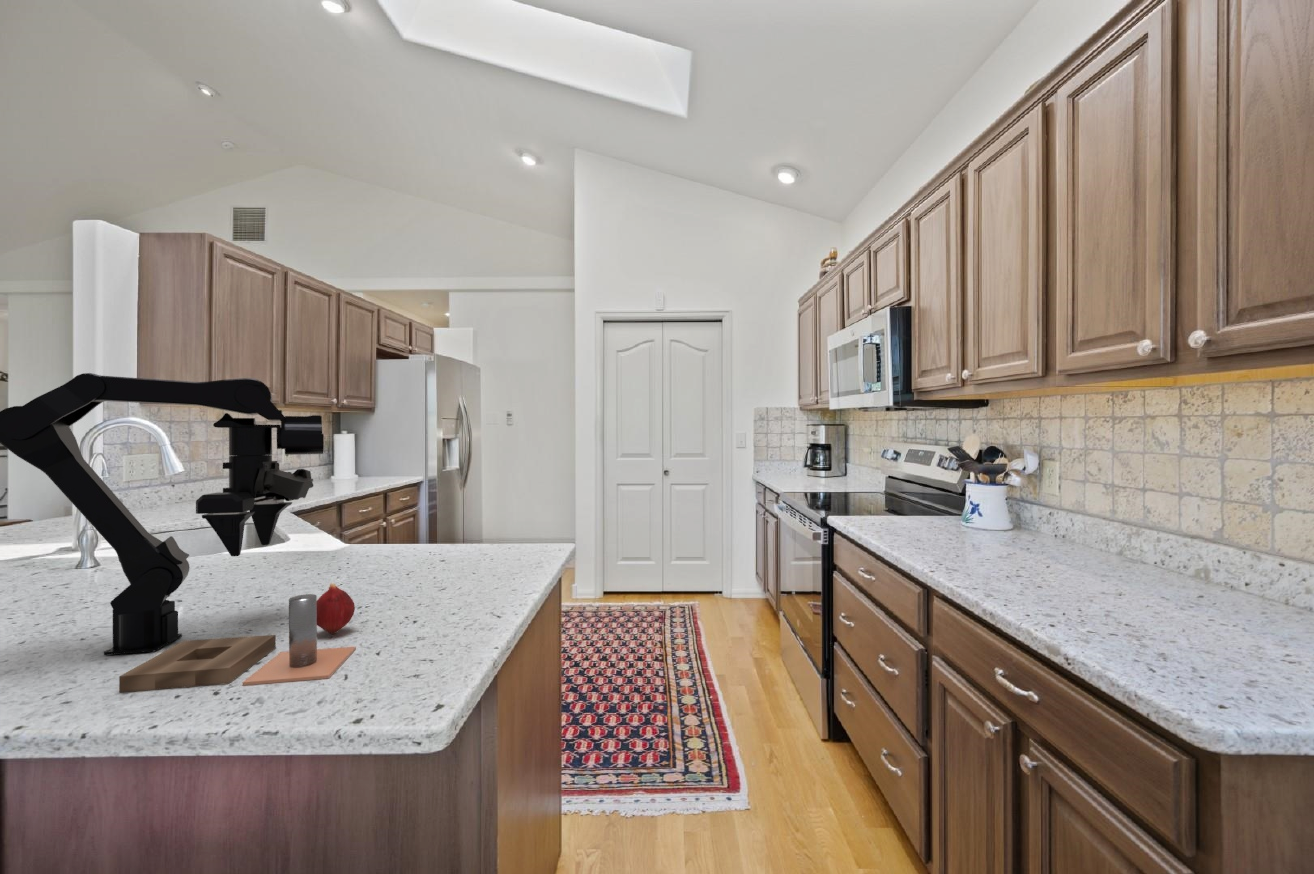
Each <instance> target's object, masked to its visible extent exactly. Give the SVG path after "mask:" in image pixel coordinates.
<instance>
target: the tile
mask: <svg viewBox="0 0 1314 874" xmlns="http://www.w3.org/2000/svg"><path fill="white" fill-rule="evenodd" d="M356 650H357V646H344V647H332V648H321V649H320V648H317V661H316V662H315V663H314V664H312V665H309V666H306V667H301V668H292V667H290V666H289V651H280V652H279V653H277V655H275V656H273V658H271V659H270V660H269V661H267V663H264V665H262V666H261V667H260V668H259V669H257V671H255V672H253V673H252V674H251V675H250V676H249V677H247V678H246V679H245V680H244V681H242V686H252V685H264V684H265V685H266V684H276V683H290V682H300V681H301V682H302V681H311V680H325V679H326V680H327V679H330V678H331V677H332V675H333V674H335V672H337V671H338V669H339V668H340V667H341V666H342V665H343V664H344V663H345V662H346V661H347V659H348V658H349V657H350V656H351V655H352V654H353V653H354V652H355V651H356Z"/></svg>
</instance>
